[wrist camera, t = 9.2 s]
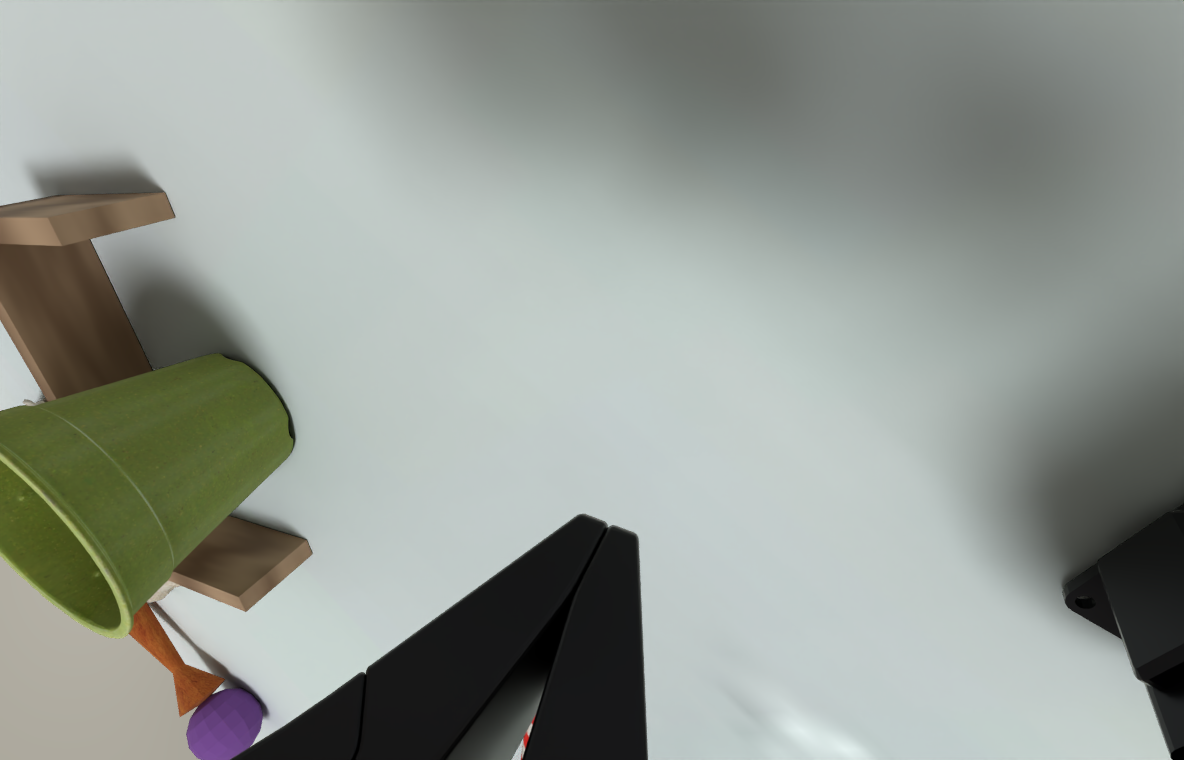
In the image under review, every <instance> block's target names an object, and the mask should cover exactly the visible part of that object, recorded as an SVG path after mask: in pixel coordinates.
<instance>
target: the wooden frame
mask: <svg viewBox="0 0 1184 760" xmlns="http://www.w3.org/2000/svg"><path fill="white" fill-rule="evenodd" d="M172 218H175V216H174V214H173V211H172V209H171V206H170V204H169V202H168V199H167V197H166V194H165V193H128V194H89V195H55V196H50V197H45V198H40V199H34V200H29V201H24V202H19V203H13V204H8V205H3V206H0V320H1V322H2V324H3V325H4V327H5V329H6V331H7V332H8V334H9V336H10V337H11V339H12V341H13V343H14V344H15V346H16V348H17V350H18V351H19V353H20V355H21V356H22V358H23V360H24V362H25V363H26V365H27V367H28V368H29V370H30V372H31V374H32V375H33V377H34V379H35V380H36V382H37V384H38V386H39V387H40V389H41V391H42V392H43V394H44V396H45V398H46V399H47V401H48V402H49V401H52V400H56V399H59V398H62V397H66V396H69V395H73V394H76V393H79V392H83V391H86V390H90V389H93V388H97V387H100V386H103V385H107V384H110V383H114V382H117V381H120V380H124V379H127V378H130V377H134V376H137V375H141V374H144V373H147V372H151V371H152V369H151V367H150V365H149V362H148V360H147V358H146V356H145V354H144V352H143V350H142V348H141V346H140V344H139V342H138V340H137V337H136V335H135V333H134V331H133V329H132V327H131V325H130V323H129V321H128V319H127V317H126V315H125V312H124V310H123V308H122V306H121V304H120V302H119V300H118V298H117V296H116V294H115V292H114V290H113V287H112V285H111V283H110V281H109V279H108V277H107V275H106V273H105V271H104V269H103V267H102V265H101V262H100V260H99V258H98V256H97V254H96V252H95V250H94V248H93V246H92V244H91V242H90V239H92V238H96V237H100V236H104V235H108V234H112V233H116V232H120V231H124V230H128V229H132V228H136V227H140V226H144V225H148V224H152V223H156V222H160V221H164V220H168V219H172ZM311 555H312V552H311V549H310V547H309V544H308V542H307V540H305V539H302V538H298V537H295V536H292V535H289V534H286V533H282V532H279V531H276V530H273V529H270V528H266V527H263V526H260V525H257V524H254V523H250V522H247V521H244V520H241V519H238V518H234V517H231V516H227V517H226V518H225V519H224V520H223V521H222V522H221V523H220V524H219V525H218V526H217V527H216V528H215V529H214V530H213V531H212V532H211V533H210V534H209V535H208V536H207V537H206V538H205V539H204V540H203V541H202V542H201V543H200V544H199V545H198V546H197V547H196V548H195V549H194V550H193V551H192V552H191V553H190V554H189V555H188V556H187V557H186V558H185V559H184V560H183V561H182V562H181V563H180V564H179V565H178V566H177V567H176V568H175V569H174V570H173V572H172V574H171V577H170V578H169V581H171V582H173V583H176V584H178V585H181V586H183V587H186V588H188V589H191V590H193V591H196V592H198V593H201V594H203V595H206V596H208V597H210V598H213V599H215V600H218V601H220V602H223V603H225V604H228V605H230V606H233V607H235V608H238V609H240V610H243V611H245V612H246V611H248V610H249V609H250V608H251V607H252V606H253V605H255V604H256V603H257V602H258V601H259V600H260V599H261V598H263V597H264V596H265V595H266V594H267V593H268V592H270V591H271V590H272V589H273V588H274V587H275V586H276V585H278V584H279V583H280V582H281V581H282V580H283V579H284V578H286V577H287V576H288V575H289V574H290V573H291V572H293V571H294V570H295V569H296V568H297V567H298V566H299V565H301V564H302V563H303V562H304V561H305V560H306V559H308V558H309V557H310V556H311Z"/></svg>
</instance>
